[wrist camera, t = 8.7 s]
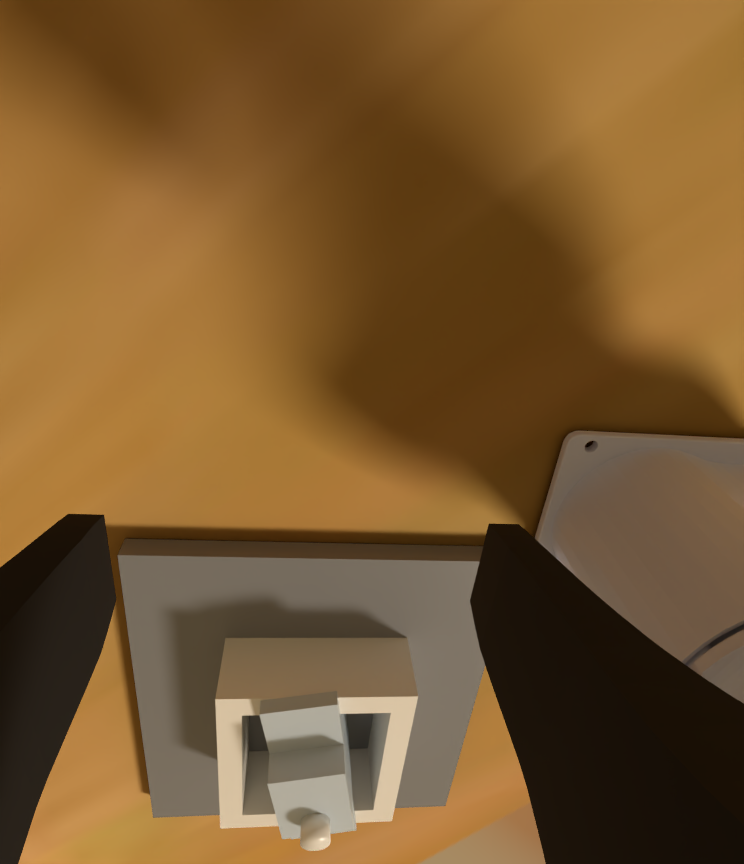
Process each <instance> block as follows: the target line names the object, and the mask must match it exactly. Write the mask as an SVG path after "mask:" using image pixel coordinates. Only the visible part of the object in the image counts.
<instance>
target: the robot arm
mask: <svg viewBox="0 0 744 864" xmlns="http://www.w3.org/2000/svg"><path fill="white" fill-rule="evenodd" d="M589 441H593V443H592V445H591V446H589V447H586V448H585V445H586V444H587V443H588V442H589ZM115 602H116V594H115V587H114V581H113V574H112V567H111V560H110V553H109V546H108V539H107V533H106V526H105V519H104V515H89V514H68V515H66V516H65V517H64V518H62V519H61V520H60V521H58V522H57V523H56V524H54V525H53V526H52V527H51V528H49V529H48V530H47V531H46V532H44V533H43V534H42V535H41V536H39V537H38V538H37V539H36V540H34V541H33V542H32V543H31V544H29V545H28V546H27V547H26V548H24V549H23V550H22V551H21V552H19V553H18V554H17V555H16V556H14V557H13V558H12V559H11V560H9V561H8V562H7V563H5V564H4V565H3V566H2V567H0V864H18V862H19V859H20V856H21V853H22V850H23V847H24V844H25V841H26V838H27V835H28V831H29V828H30V825H31V822H32V819H33V816H34V813H35V810H36V807H37V804H38V802H39V799H40V797H41V794H42V791H43V789H44V786H45V784H46V781H47V778H48V776H49V774H50V771H51V769H52V767H53V764H54V762H55V760H56V757H57V755H58V753H59V750H60V748H61V746H62V743H63V741H64V739H65V736H66V734H67V732H68V729H69V727H70V725H71V722H72V720H73V718H74V716H75V713H76V711H77V709H78V706H79V704H80V702H81V699H82V697H83V695H84V692H85V690H86V687H87V685H88V683H89V680H90V678H91V676H92V673H93V671H94V669H95V666H96V664H97V661H98V659H99V656H100V654H101V651H102V648H103V645H104V641H105V638H106V635H107V631H108V628H109V624H110V621H111V617H112V613H113V610H114V606H115ZM470 604H471V609H472V614H473V619H474V624H475V629H476V634H477V638H478V642H479V647H480V651H481V654H482V657H483V660H484V663H485V665H486V668H487V671H488V674H489V677H490V680H491V683H492V686H493V689H494V692H495V694H496V697H497V700H498V703H499V706H500V709H501V711H502V714H503V717H504V720H505V723H506V726H507V728H508V731H509V734H510V737H511V740H512V743H513V745H514V748H515V751H516V754H517V757H518V760H519V763H520V766H521V769H522V772H523V776H524V779H525V782H526V785H527V789H528V793H529V797H530V801H531V805H532V808H533V813H534V817H535V820H536V825H537V828H538V833H539V837H540V841H541V845H542V849H543V853H544V858H545V862H546V864H744V439H740V438H720V437H700V436H679V435H659V434H639V433H619V432H599V431H573V432H571V433H569V434H568V435H567V436H566V437H565V439H564V441H563V444H562V448H561V451H560V455H559V458H558V461H557V465H556V468H555V471H554V475H553V478H552V481H551V485H550V488H549V492H548V495H547V498H546V502H545V505H544V508H543V512H542V515H541V518H540V522H539V525H538V529H537V532H536V535H535V538H534V537H533V536H531V535H530V534H529V533H528V532H527V531H526V530H525V529H523V528H522V527H521V526H520V525H519V524H489V526H488V530H487V534H486V538H485V542H484V546H483V550H482V554H481V558H480V562H479V566H478V570H477V574H476V578H475V582H474V586H473V590H472V594H471V598H470Z"/></svg>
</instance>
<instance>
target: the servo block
mask: <svg viewBox="0 0 744 864" xmlns="http://www.w3.org/2000/svg"><path fill="white" fill-rule="evenodd" d="M259 715H260V719H261V723H262V727H263V731H264V735H265V739H266V742H267V746H268V750H269V768H268V782H267V785H268V788H269V792H270V796H271V799H272V803H273V807H274V810H275V814H276V818H277V822H278V825H279V829H280V833H281V836H282V839H288V838H291V839H297V838H300V845H301V847H302V848H303V849H305V850H309V851H318V850H322V849H325V848H326V847H328V846H329V845H330V834H333V833H341V832H348V831H355V830H356V816H355V809H354V802H353V796H352V779H351V763H350V746H349V732H348V725H347V718H346V714H340V708H339V701H338V694H337V691H332V692H324V693H316V694H309V695H301V696H293V697H285V698H277V699H269V700H261V701H260V713H259Z"/></svg>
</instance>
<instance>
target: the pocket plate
mask: <svg viewBox="0 0 744 864" xmlns="http://www.w3.org/2000/svg"><path fill="white" fill-rule="evenodd" d="M482 550H483V546H449V545H402V544H355V543H307V542H260V541H213V540H165V539H125V540H124V542H123V544H122V546H121V548H120V551H119V553H118V563H119V570H120V577H121V585H122V592H123V599H124V607H125V614H126V621H127V629H128V636H129V643H130V651H131V658H132V665H133V673H134V680H135V687H136V695H137V702H138V709H139V717H140V724H141V731H142V739H143V746H144V753H145V761H146V768H147V775H148V783H149V790H150V797H151V805H152V812H153V818H155V817H180V816H205V815H220V828H243V827H267V826H279V825H278V822H277V818H276V814H275V810H274V807H273V803H272V799H271V796H270V792H269V788H268V785H267V782H268V768H269V750H268V746H267V742H266V739H265V735H264V731H263V727H262V723H261V719H260V715H259V713H260V701H261V700H269V699H277V698H285V697H293V696H301V695H309V694H316V693H324V692H332V691H337V694H338V701H339V708H340V714H346V718H347V725H348V732H349V746H350V763H351V779H352V796H353V802H354V809H355V816H356V823H360V822H384V821H392V818H393V813H394V809H395V808H406V807H431V806H445V805H446V801H447V798H448V794H449V791H450V787H451V784H452V780H453V777H454V773H455V770H456V766H457V763H458V759H459V755H460V752H461V748H462V745H463V741H464V738H465V734H466V731H467V727H468V724H469V720H470V717H471V713H472V710H473V706H474V703H475V699H476V695H477V692H478V688H479V685H480V681H481V678H482V674H483V671H484V667H485V663H484V660H483V657H482V654H481V651H480V647H479V642H478V638H477V634H476V629H475V624H474V619H473V614H472V609H471V604H470V598H471V594H472V590H473V586H474V582H475V578H476V574H477V570H478V566H479V562H480V558H481V554H482Z"/></svg>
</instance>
